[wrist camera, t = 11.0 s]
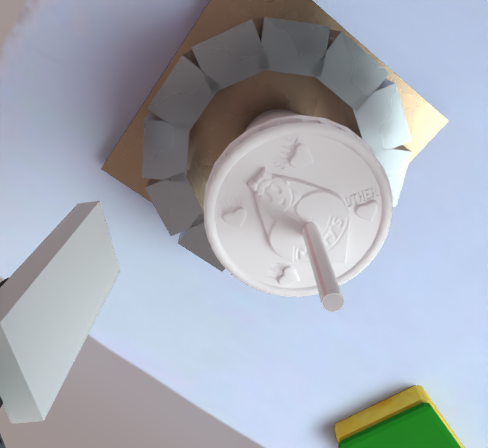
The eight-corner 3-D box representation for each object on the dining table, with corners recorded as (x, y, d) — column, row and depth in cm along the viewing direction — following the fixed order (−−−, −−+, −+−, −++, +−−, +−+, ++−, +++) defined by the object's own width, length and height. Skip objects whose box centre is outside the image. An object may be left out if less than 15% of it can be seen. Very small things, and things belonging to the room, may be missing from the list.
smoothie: (275, 223, 26) (307, 424, 13) (191, 144, 24) (131, 290, 11) (363, 144, 24) (503, 288, 11) (280, 52, 22) (332, 98, 9)
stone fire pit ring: (247, -54, 21) (248, -71, 17) (441, 116, 24) (481, 137, 20) (106, 163, 25) (79, 191, 21) (287, 283, 28) (294, 328, 24)
